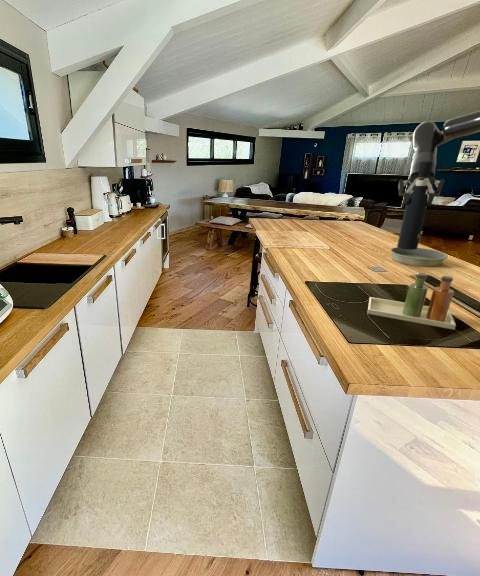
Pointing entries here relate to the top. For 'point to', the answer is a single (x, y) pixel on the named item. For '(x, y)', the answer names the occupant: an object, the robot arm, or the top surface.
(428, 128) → the robot arm
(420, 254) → the cake pan
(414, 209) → the dark grey bottle
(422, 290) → the olive bottle
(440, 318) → the amber oil bottle
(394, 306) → the tray
